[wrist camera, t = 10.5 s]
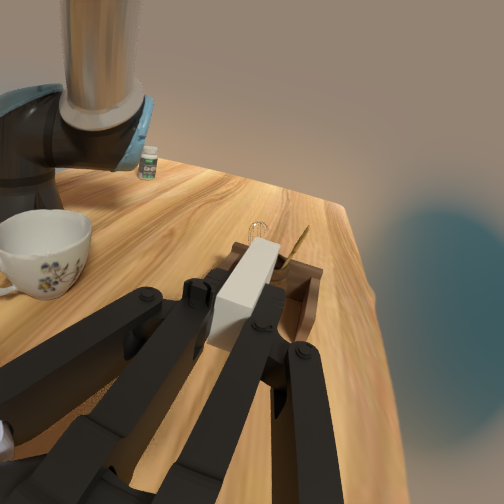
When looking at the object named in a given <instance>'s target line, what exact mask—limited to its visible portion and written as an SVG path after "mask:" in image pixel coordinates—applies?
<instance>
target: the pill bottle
mask: <svg viewBox="0 0 504 504" xmlns="http://www.w3.org/2000/svg"><path fill="white" fill-rule="evenodd" d="M157 151H158V148H156V147H151V146H144V147H143V153H142V155H141V158H140V163H139V171H138V177H139V178H140V179H143V180H153V179H154V178H155V173H156V166H157V159H158V156H157V155H156V154H157Z"/></svg>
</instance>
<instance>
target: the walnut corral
mask: <svg viewBox="0 0 504 504" xmlns="http://www.w3.org/2000/svg"><path fill="white" fill-rule="evenodd" d="M248 248H249V246H247V245H244V244H241V243H238V242H235V243H234V244H233V246H232V250H231V252H230V254H229V255H228V256H227V257H226V259H225V260H224V261H223V262H222V264H221V265H220V266H219V267H218V268H221V269H224V270H227V271H230V272H233V270H234V269H235V267H236V266H237V264H238V263H239V262H240V260H241V259H242V257H243V256H244V254H245V253H246V251H247V250H248ZM286 259H287V258H286ZM289 263H290V271H289V274H288V276H287V279H288V286H287V290H286V296H287V297H290V298H293V299H296V300H299V301H302V302H303V303H302V307H301V312H300V317H299V321H298V326H297V330H296V335H295V339H294V342H295V341H304V342H306V340H307V338H308V336H309V333H310V331H311V329H312V326H313V324H314V322H315V317H316V310H317V302H318V294H319V286H320V279H321V276H322V274H323V269H320V268H317V267H314V266H311V265H308V264H304V263H301V262H298V261H295V260H292V259H290V261H289Z"/></svg>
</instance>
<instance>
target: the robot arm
mask: <svg viewBox="0 0 504 504" xmlns="http://www.w3.org/2000/svg"><path fill="white" fill-rule="evenodd" d="M142 5H143V0H60V20H61V36H62V47H63V58H64V68H65V76H66V83H67V87H66V89H65V90H64V89H63V86H62V84H46V85H40V86H33V87H27V88H22V89H17V90H13V91H10V92H7V93H4V94H2V95H1V96H0V224H1V223H2V222H4V221H5V220H7V219H8V218H11V217H12V216H14V215H17V214H20V213H23V212H27V211H31V210H43V209H46V210H54V209H56V210H64V208H63V205H62V202H61V199H60V196H59V193H58V189H57V186H56V183H55V168H75V169H91V170H103V171H110V172H116V171H132V170H134V169H135V168H136V167H137V166H138V164H139V162H140V158H141V155H142V151H143V147H144V143H145V138H146V135H147V131H148V127H149V123H150V119H151V115H152V110H153V106H154V100H153V99H152V98H151V97H148V96H147V95H144V91H143V87H142V84H141V83H140V81H139V80H138V79H137V78H136V77H135V76H134V68H135V57H136V48H137V39H138V32H139V25H140V17H141V11H142ZM280 246H281V245H280V244H277V243H274V242H271V241H267V240H264V239H261V238H258V237H256V238H255V239H254V241H253V242H252V244H251V245H250V247H249V248H248V250H247V251H246V253H245V254H244V256H243V257H242V259H241V260H240V262H239V263H238V264H237V266H236V267H235V269H234V270H233V272H230V271H227V270H224V269H221V268H216V269H214V270H211V271H210V272H209V273H208V275H207V276H206V277H205V278H204V280H203V279H199V278H192V279H188V280H186V281H185V282H184V287H183V295H182V299H181V300H180V301H173V300H166V299H163V296H162V293H161V292H160V291H159V290H157V289H155V288H153V287H140V288H137V289H135V290H134V291H132V292H130V293H128V294H126V295H125V296H123V297H121V298H119V299H118V300H116V301H114V302H112V303H110V304H109V305H107V306H105V307H103V308H102V309H100V310H98V311H96V312H95V313H93V314H91V315H89V316H88V317H86V318H84V319H82V320H81V321H79V322H77V323H75V324H74V325H72V326H70V327H68V328H67V329H65V330H63V331H62V332H60V333H58V334H56V335H55V336H53V337H51V338H50V339H48V340H46V341H44V342H43V343H41V344H39V345H38V346H36V347H34V348H33V349H31V350H29V351H27V352H26V353H24V354H22V355H21V356H19V357H17V358H16V359H14V360H12V361H11V362H9V363H7V364H6V365H4V366H2V367H1V368H0V504H215V502H216V499H217V497H218V494H219V492H220V489H221V487H222V484H223V480H224V477H225V474H226V472H227V469H228V467H229V464H230V461H231V459H232V456H233V454H234V451H235V448H236V446H237V443H238V440H239V438H240V435H241V432H242V429H243V427H244V424H245V421H246V418H247V416H248V413H249V410H250V407H251V404H252V402H253V399H254V396H255V393H256V390H257V387H258V384H259V381H260V380H261V381H263V382H264V383H266V384H267V385H269V386H270V387H271V389H270V399H271V456H272V504H344V499H343V492H342V484H341V477H340V470H339V463H338V456H337V450H336V443H335V437H334V431H333V425H332V419H331V413H330V407H329V401H328V396H327V390H326V384H325V379H324V374H323V368H322V363H321V358H320V354H319V351H318V350H317V349H316V347H315V346H313V345H312V344H310V343H308V342H304V341H295V342H292V343H289V342H287V341H286V340H284V339H283V338H282V337H281V336H280V335H279V333H278V330H277V325H278V322H279V319H280V316H281V313H282V309H283V306H284V303H285V300H286V293H285V290H284V289H282V288H279V287H276V286H273V285H270V284H269V282H270V279H271V276H272V273H273V269H274V266H275V263H276V259H277V256H278V253H279V249H280ZM207 338H208V341H207V344H210V345H212V346H215V347H218V348H220V349H223V350H226V351H228V352H231V353H230V355H229V357H228V359H227V361H226V363H225V365H224V367H223V369H222V371H221V373H220V375H219V377H218V379H217V381H216V384H215V386H214V388H213V390H212V392H211V394H210V396H209V398H208V400H207V402H206V404H205V406H204V408H203V410H202V412H201V414H200V416H199V418H198V420H197V422H196V424H195V426H194V428H193V430H192V432H191V434H190V436H189V438H188V440H187V442H186V444H185V446H184V448H183V450H182V452H181V454H180V456H179V458H178V459H177V461H176V462H175V463H173V465H172V466H171V468H170V469H169V471H168V473H167V475H166V477H165V479H164V481H163V482H162V484H161V486H160V488H159V490H158V492H157V494H153V493H149V492H144V491H140V490H136V489H133V488H131V487H129V486H128V485H129V483H130V482H131V479H132V476H133V472H134V469H135V467H136V465H137V463H138V461H139V460H140V458H141V456H142V455H143V453H144V451H145V450H146V448H147V446H148V444H149V443H150V441H151V439H152V438H153V436H154V434H155V432H156V431H157V429H158V427H159V426H160V424H161V422H162V420H163V419H164V417H165V415H166V414H167V412H168V410H169V408H170V407H171V405H172V403H173V402H174V400H175V398H176V396H177V395H178V393H179V391H180V389H181V388H182V386H183V384H184V383H185V381H186V379H187V377H188V376H189V374H190V372H191V371H192V369H193V367H194V365H195V364H196V362H197V360H198V358H199V357H200V355H201V353H202V351H203V348H204V343H205V341H206V339H207ZM119 375H120V376H119ZM118 376H119V377H118ZM116 377H118V378H117V380H116V381H115V382H114V383H113V385H112V386H111V387H110V389H109V390H108V391H107V392H106V394H105V395H104V396H103V398H102V399H101V400H100V401H99V403H98V404H97V405H96V407H95V408H94V409H93V410H92V412H91V413H90V414H88V415H80V416H78V417H77V418H76V419H75V420H74V421H73V422H72V423H71V425H70V426H69V427H68V428H67V430H66V431H65V432H64V433H63V435H62V436H61V437H60V439H59V440H58V441H57V443H56V444H55V445H54V446H53V448H52V449H51V450H50V452H49V453H48V454H43V455H39V456H34V457H29V458H25V459H20V460H14V461H10V460H12V459H13V457H14V446H18V445H21V444H23V443H25V442H27V441H29V440H31V439H33V438H34V437H36V436H38V435H39V434H41V433H42V432H43V431H45V430H46V429H48V428H49V427H50V426H52V425H53V424H54V423H56V422H57V421H59V420H60V419H61V418H63V417H64V416H65V415H67V414H68V413H69V412H71V411H72V410H73V409H75V408H76V407H78V406H79V405H80V404H82V403H83V402H84V401H86V400H87V399H88V398H90V397H91V396H92V395H94V394H95V393H96V392H98V391H99V390H100V389H102V388H103V387H104V386H106V385H107V384H108V383H110V382H111V381H112V380H114V379H115V378H116ZM4 460H6V461H9V462H3V463H1V462H2V461H4Z"/></svg>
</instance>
